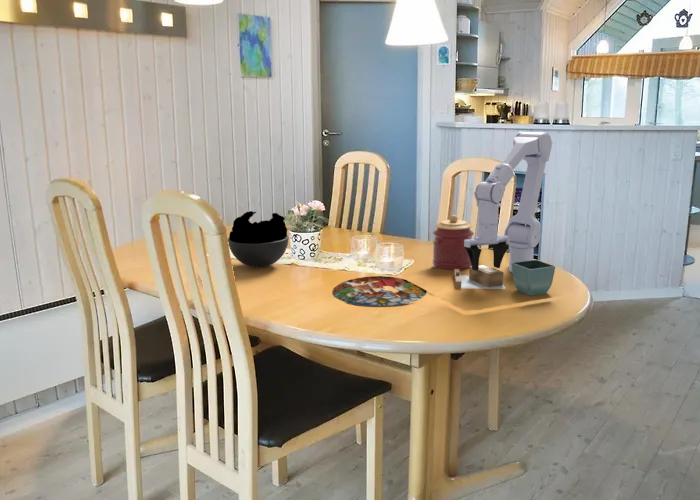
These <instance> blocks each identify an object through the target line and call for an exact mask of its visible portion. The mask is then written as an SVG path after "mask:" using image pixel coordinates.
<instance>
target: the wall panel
mask: <svg viewBox="0 0 700 500" xmlns="http://www.w3.org/2000/svg"><path fill="white" fill-rule="evenodd" d="M453 276H454V277H453V278H454V284H455V288H456V289H469V290H470V289H471V290H472V289H475V290H478V289H479V290H481V289H482V290H506V287H505V285H504V283H503V285H502V286H495V287H486V286H484V285H482V284H480V283H477V282H475V281H473V280H470V279H469V275H465V274H464V275H463V274H462V275H461V272H460V270H459V269H454V270H453Z"/></svg>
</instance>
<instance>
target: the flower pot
mask: <svg viewBox="0 0 700 500" xmlns="http://www.w3.org/2000/svg"><path fill="white" fill-rule="evenodd" d="M555 271H556V265H554V264H550V263H547V262H544V261H542V260H538V259H533V260H529V261H521V262H513V263H512V272H511V274H512V280H513V283H514V286H515V288H516V290H517V291H518V292H521V293H523V294H525V295H527V296H536V295H545V294H547V293H548V292H549V290H550V289H551V287H552V284H553V282H554V281H553V280H554V276H555Z"/></svg>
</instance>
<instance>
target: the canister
mask: <svg viewBox="0 0 700 500" xmlns="http://www.w3.org/2000/svg"><path fill="white" fill-rule="evenodd" d="M458 217H459V216H457V215H456V214H451V215H450V216H449V219H443V220H441V221H439V222H438V223H437V224H436V225H435V228H436V229H435V230H434V231H433V232H432V234H433V235H434V240H433V241H432V244H433V248H432V249H433V250H432V252H433V255H432V256H433V259H432V264H433V265H432V266H433V269H435V270H436V269H437V270H438V269H441V270H446V271H447V270H448V271H454V269H459V271H460V270H469V266H472V265H471V261H470V258H469V255H468V253H467V251H466V249H465V246H464V240H467V239H472V238H473V236H474V234H475V233H474V232H473V230H471V228H472V225H471V224H469V222H467V221H466V220H461V219H458Z"/></svg>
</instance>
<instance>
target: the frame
mask: <svg viewBox="0 0 700 500" xmlns="http://www.w3.org/2000/svg"><path fill="white" fill-rule="evenodd" d="M468 270H469V272H468V273H469V274H468V276H469V279H470V280H473V281H475V282H477V283H480V284H482V285H484V286H486V287H495V286H502V285H503V284H504V271H502V270H499V269H498V268H495V267H492V266H488V265H486V264H484V263H483V264H479V268H478V271H475V270H472V266H469V268H468Z"/></svg>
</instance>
